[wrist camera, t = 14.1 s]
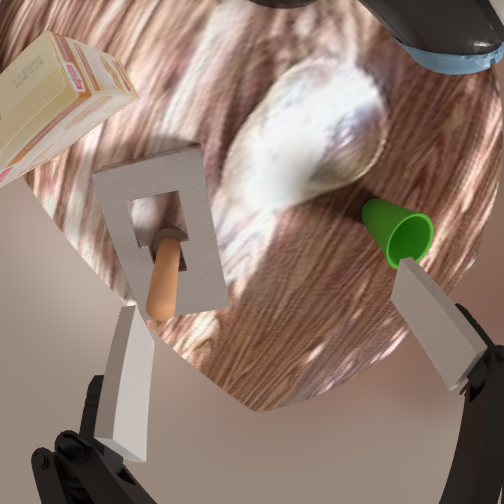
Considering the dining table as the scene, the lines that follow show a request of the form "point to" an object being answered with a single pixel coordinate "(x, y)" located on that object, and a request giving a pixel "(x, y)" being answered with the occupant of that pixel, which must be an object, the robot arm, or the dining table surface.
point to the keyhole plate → (194, 248)
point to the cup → (397, 230)
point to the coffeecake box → (55, 100)
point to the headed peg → (164, 273)
